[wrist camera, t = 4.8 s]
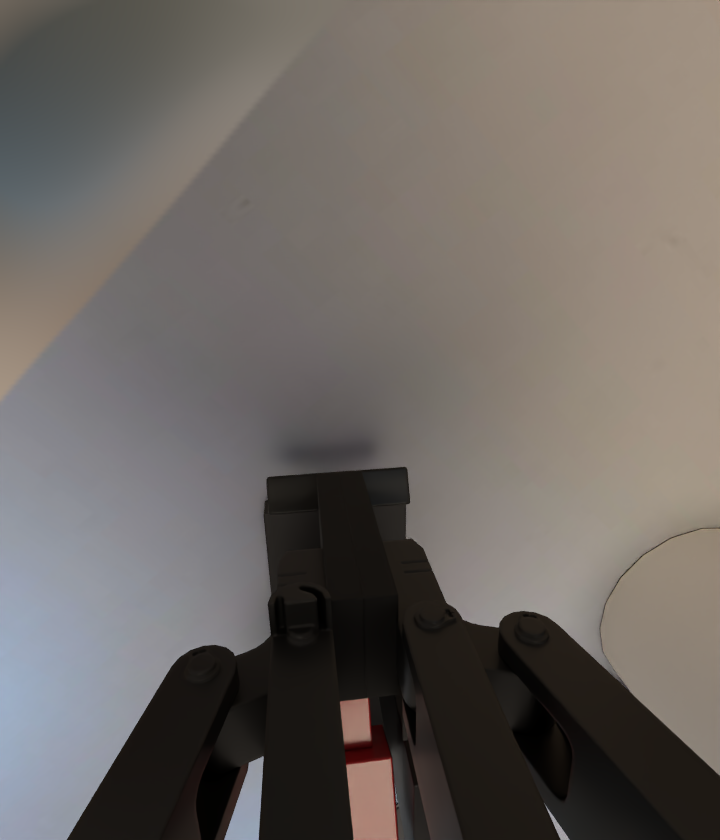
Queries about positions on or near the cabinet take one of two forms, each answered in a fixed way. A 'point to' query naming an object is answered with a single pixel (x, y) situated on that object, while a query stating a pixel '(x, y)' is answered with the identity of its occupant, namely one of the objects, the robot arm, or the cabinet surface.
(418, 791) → the lever switch
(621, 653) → the mug
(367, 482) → the red lever
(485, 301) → the cabinet surface
